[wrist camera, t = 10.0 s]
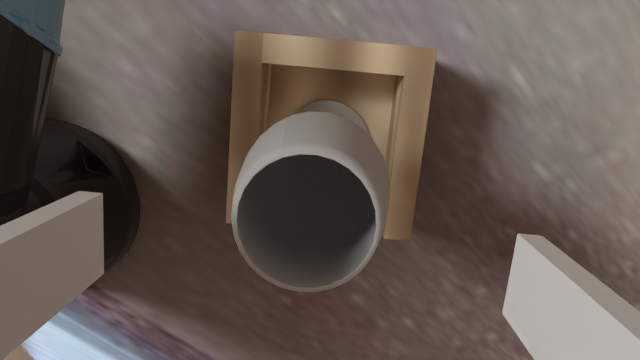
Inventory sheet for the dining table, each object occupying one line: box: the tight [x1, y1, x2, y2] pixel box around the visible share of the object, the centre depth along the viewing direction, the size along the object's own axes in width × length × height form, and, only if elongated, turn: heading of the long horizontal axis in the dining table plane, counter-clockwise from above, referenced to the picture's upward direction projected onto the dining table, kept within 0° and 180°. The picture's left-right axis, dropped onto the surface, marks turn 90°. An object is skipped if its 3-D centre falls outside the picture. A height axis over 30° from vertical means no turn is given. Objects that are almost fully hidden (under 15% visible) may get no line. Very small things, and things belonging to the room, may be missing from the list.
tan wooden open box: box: [226, 30, 437, 241], centre depth 37 cm, size 14×14×7 cm
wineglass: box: [231, 100, 390, 293], centre depth 28 cm, size 8×8×21 cm
